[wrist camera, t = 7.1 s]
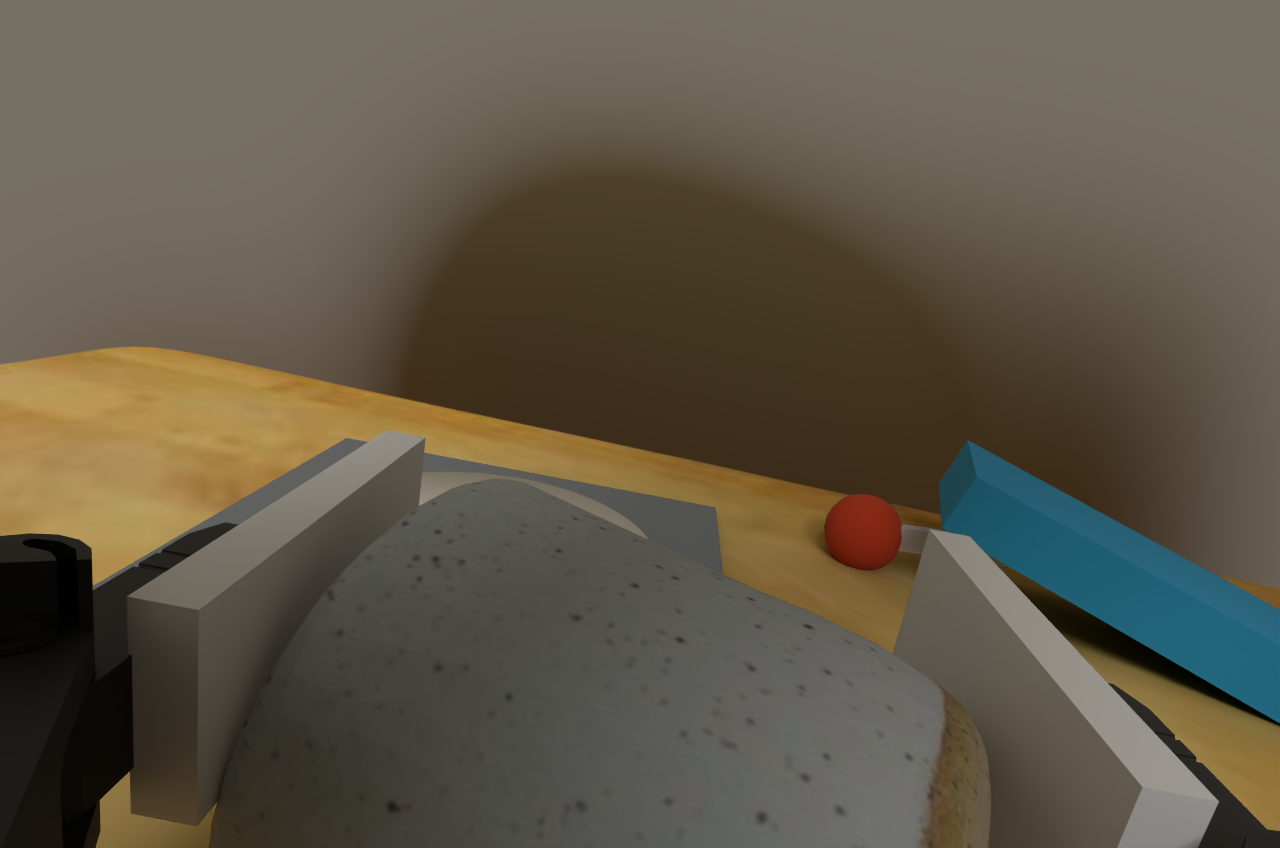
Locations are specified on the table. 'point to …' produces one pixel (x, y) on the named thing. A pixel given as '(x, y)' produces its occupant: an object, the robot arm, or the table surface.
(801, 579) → the table surface
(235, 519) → the mat
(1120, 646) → the table surface
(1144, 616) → the lever
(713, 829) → the ceramic mug
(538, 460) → the table surface
